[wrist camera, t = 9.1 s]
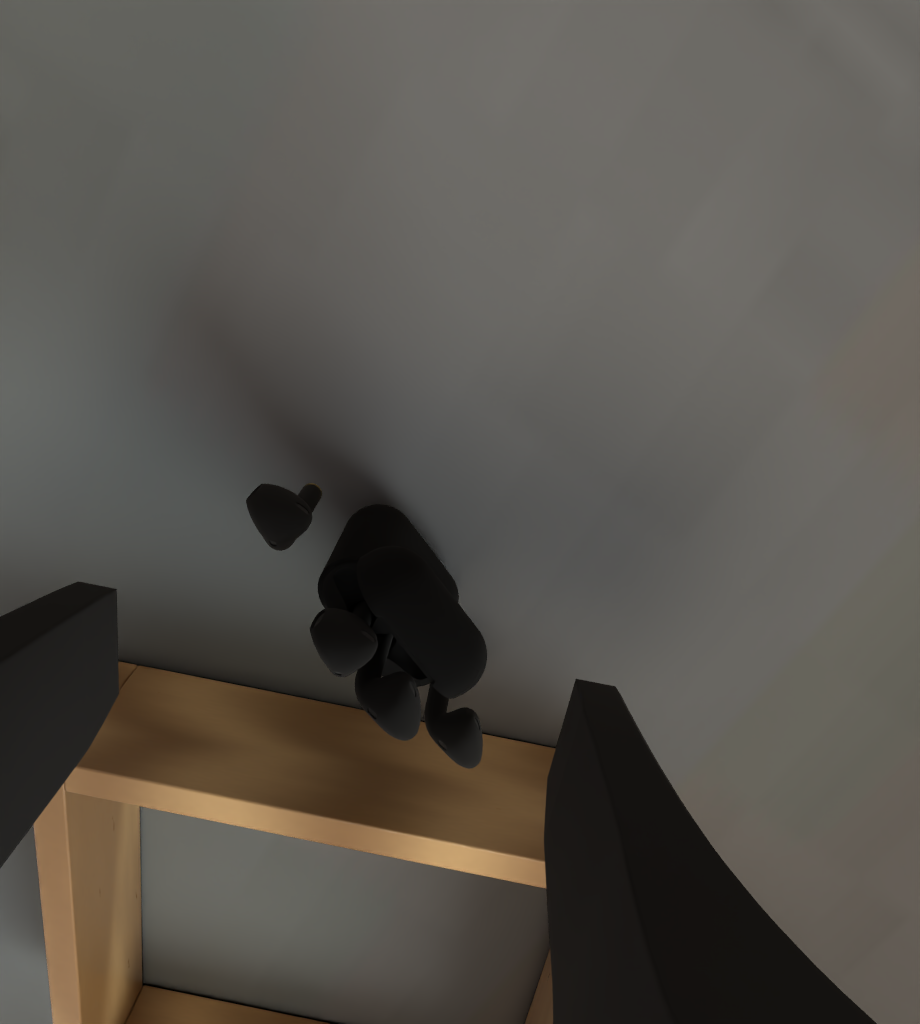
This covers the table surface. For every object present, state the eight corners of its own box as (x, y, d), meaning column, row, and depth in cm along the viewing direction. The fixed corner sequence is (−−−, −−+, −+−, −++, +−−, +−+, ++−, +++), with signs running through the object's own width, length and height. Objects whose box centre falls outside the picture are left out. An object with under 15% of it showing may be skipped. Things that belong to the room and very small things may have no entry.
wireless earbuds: (281, 445, 17) (185, 560, 13) (374, 382, 16) (308, 482, 12) (466, 677, 19) (441, 847, 15) (556, 632, 18) (559, 797, 14)
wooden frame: (119, 993, 26) (60, 1112, 23) (106, 658, 20) (25, 757, 17) (531, 1079, 26) (529, 1210, 23) (644, 765, 20) (662, 885, 17)
